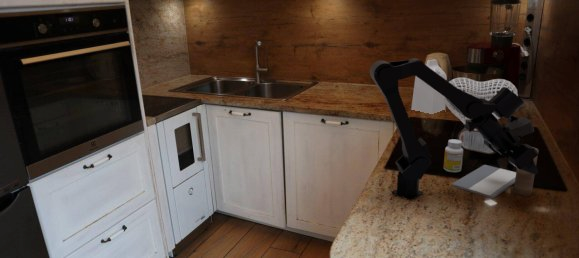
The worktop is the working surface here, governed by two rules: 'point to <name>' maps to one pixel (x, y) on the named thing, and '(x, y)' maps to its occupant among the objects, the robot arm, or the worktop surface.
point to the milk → (428, 93)
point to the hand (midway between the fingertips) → (527, 166)
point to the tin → (473, 141)
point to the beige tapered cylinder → (524, 181)
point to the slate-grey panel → (487, 181)
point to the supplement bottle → (453, 156)
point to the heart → (509, 84)
